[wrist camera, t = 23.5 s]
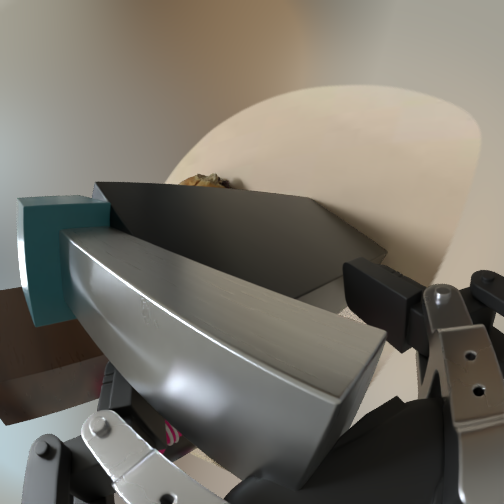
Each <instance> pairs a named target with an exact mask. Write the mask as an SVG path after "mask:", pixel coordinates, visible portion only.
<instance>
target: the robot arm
mask: <svg viewBox="0 0 504 504" xmlns="http://www.w3.org/2000/svg"><path fill="white" fill-rule="evenodd" d="M342 271H343V281H344V292H345V300H346V303H347V305H348V307H349V309H350V310H351V311H352V312H353V313H354V314H356V315H357V316H358V317H359V318H360V319H362V320H363V321H364V322H365V323H366V324H367V325H370V326H373V327H376V328H379V329H382V330H385V331H386V332H387V338H386V341H387V342H389V343H390V344H391V345H392V346H393V347H394V348H396V349H397V350H398V351H399V352H400V353H404V352H405V351H407V350H408V349H410V348H411V347H413V348H414V349H415V350H416V366H417V377H418V378H417V380H418V400H413V401H409V402H406V403H404V402H403V401H402V400H401V399H400V398H399V397H398V396H395V397H394V398H392V399H391V400H389V401H388V402H386V403H384V404H383V405H381V406H379V407H378V408H376V409H374V410H373V411H371V412H369V413H367V414H366V415H365V416H364V417H362V418H361V419H360V420H359V421H358V422H357V423H356V424H354V425H353V426H352V427H351V428H350V429H349V430H347V431H346V432H345V433H344V434H343V435H341V436H340V437H339V438H338V440H337V441H336V443H335V444H334V446H333V447H332V449H331V450H330V451H329V453H328V454H327V455H326V457H325V458H324V459H323V461H322V462H321V463H320V465H319V466H318V467H317V469H316V470H315V471H314V473H313V474H312V475H311V477H310V478H309V479H308V480H307V482H306V483H305V484H304V485H303V487H302V488H301V489H299V490H291V489H289V488H287V487H284V486H282V485H280V484H278V483H275V482H273V481H270V480H267V479H264V478H262V479H260V478H258V477H256V476H254V477H248V478H246V479H244V480H243V481H242V482H240V483H239V484H238V485H236V486H235V487H234V488H233V489H232V490H231V491H230V492H229V493H228V494H227V495H226V496H225V498H224V499H222V498H220V497H219V496H217V495H216V494H214V493H213V492H211V491H210V490H208V489H207V488H205V487H204V486H202V485H201V484H200V483H198V482H197V481H195V480H194V479H193V478H191V477H190V476H189V475H187V474H186V473H184V472H183V471H182V470H181V469H179V468H178V467H177V466H176V465H174V464H173V463H172V462H174V461H176V460H177V459H179V458H181V457H183V456H184V455H186V454H188V453H189V452H191V451H193V450H194V449H196V448H198V447H196V446H195V445H194V444H193V443H191V442H190V441H189V440H188V439H187V438H186V437H184V436H183V435H182V436H180V437H179V441H178V442H177V443H173V445H171V446H169V445H167V437H166V425H165V419H164V418H163V417H162V416H161V415H160V414H159V413H158V412H157V411H156V410H155V409H154V408H153V407H152V406H151V405H150V404H149V403H148V402H147V401H146V400H145V399H144V398H143V397H142V396H141V395H140V394H139V393H138V392H137V391H136V390H135V389H134V388H133V387H132V386H131V385H130V383H129V382H128V381H127V380H126V379H125V378H124V377H123V376H122V375H121V373H120V372H119V371H118V370H117V369H116V368H115V367H114V365H113V364H112V363H111V362H110V361H108V363H107V364H106V368H105V373H104V376H105V377H103V382H102V383H103V385H102V387H101V392H100V397H99V403H98V408H97V412H96V413H94V414H92V415H91V416H89V417H88V418H87V420H86V421H85V422H84V424H83V426H82V429H81V435H80V436H78V437H76V438H73V439H71V440H68V441H66V442H64V443H63V442H62V441H60V439H59V438H58V437H56V436H55V435H53V434H45V435H42V436H40V437H39V438H38V439H36V440H35V441H34V443H33V444H32V446H31V448H30V451H29V456H28V461H27V467H26V473H25V479H24V486H23V494H22V503H21V504H115V503H114V493H116V492H117V494H118V495H119V496H120V497H121V498H122V499H123V500H124V502H125V503H126V504H504V334H503V333H502V332H500V331H499V330H498V329H496V328H495V327H493V322H494V319H495V314H496V312H497V313H499V314H500V315H502V316H503V317H504V277H503V276H501V275H499V274H497V273H495V272H492V271H488V270H480V271H476V272H475V273H473V274H472V276H471V283H470V287H468V288H464V289H461V290H458V289H457V288H455V287H453V286H451V285H447V284H435V285H432V286H429V287H428V288H426V287H425V286H423V285H421V284H419V283H417V282H416V281H414V280H412V279H410V278H408V277H406V276H405V275H404V276H403V274H401V273H399V272H396V271H395V270H393V269H391V268H390V267H388V266H385V265H380V264H375V263H372V262H371V261H369V260H367V259H365V258H363V257H358V258H355V259H352V260H350V261H347V262H345V263H344V264H343V267H342ZM163 449H165V451H164V453H163V454H161V453H160V452H159V451H158V450H163Z"/></svg>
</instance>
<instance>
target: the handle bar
mask: <svg viewBox="0 0 504 504" xmlns="http://www.w3.org/2000/svg"><path fill="white" fill-rule="evenodd" d="M110 209H111V203H110V202H106V201H101V200H97V199H93V198H89V197H84V196H80V195H73V196H45V197H27V198H17V239H18V255H19V266H20V274H21V283H22V289H23V292H24V295H25V299H26V302H27V305H28V308H29V311H30V314H31V317H32V320H33V323H34V325H35V327H40V326H45V325H49V324H54V323H59V322H63V321H68V320H72V319H78V321H79V322H80V323H81V325H82V326H83V327H84V329H85V330H86V332H87V333H88V334H89V336H90V337H91V338H92V339H93V341H94V342H95V343H96V345H97V346H98V347H99V348H100V350H101V351H102V352H103V353H104V355H105V356H106V357H107V358H108V359H109V361H110V362H111V363H112V364H113V365H114V367H115V368H116V369H117V370H118V371H119V372H120V373H121V375H122V376H123V377H124V378H125V379H126V380H127V381H128V382H129V383H130V385H131V386H132V387H133V388H134V389H135V390H136V391H137V392H138V393H139V394H140V395H141V396H142V397H143V398H144V399H145V400H146V401H147V402H148V403H149V404H150V405H151V406H152V407H153V408H154V409H155V410H156V411H157V412H158V413H159V414H160V415H161V416H162V417H163V418H164V419H165V420H166V421H168V422H169V423H170V424H171V425H172V426H173V427H174V428H175V429H176V430H177V431H179V432H180V433H181V434H182V435H183V436H184V437H186V438H187V439H188V440H189V441H190V442H191V443H193V444H194V445H195V446H196V447H198V448H199V449H200V450H201V451H203V452H204V453H205V454H206V455H208V456H209V457H210V458H212V459H213V460H214V461H216V462H217V463H218V464H220V465H221V466H222V467H224V468H225V469H226V470H228V471H229V472H231V473H232V474H234V475H235V476H237V477H238V478H240V479H241V480H242V481H243V480H244V479H246V478H248V477H254V476H256V477H258V478H260V479H262V478H264V479H267V480H270V481H273V482H275V483H278V484H280V485H282V486H284V487H287V488H289V489H291V490H299V489H301V488H302V487H303V485H304V484H305V483H306V482H307V480H308V479H309V478H310V477H311V475H312V474H313V473H314V471H315V470H316V469H317V467H318V466H319V465H320V463H321V462H322V461H323V459H324V458H325V457H326V455H327V454H328V453H329V451H330V450H331V449H332V447H333V446H334V444H335V443H336V441H337V440H338V438H339V437H340V436H341V435H343V434H344V433H345V432H346V431H347V430H349V428H350V426H351V424H352V421H353V419H354V417H355V415H356V413H357V411H358V409H359V407H360V404H361V402H362V400H363V398H364V395H365V393H366V391H367V388H368V386H369V384H370V381H371V379H372V376H373V374H374V371H375V369H376V366H377V363H378V361H379V358H380V355H381V353H382V350H383V347H384V344H385V341H386V338H387V332H386V331H385V330H382V329H379V328H376V327H373V326H370V325H367V324H364V323H361V322H358V321H355V320H352V319H349V318H346V317H343V316H340V315H338V314H335V313H332V312H329V311H326V310H323V309H321V308H318V307H315V306H312V305H309V304H306V303H304V302H301V301H298V300H295V299H293V298H290V297H287V296H284V295H282V294H279V293H276V292H274V291H271V290H268V289H265V288H263V287H260V286H257V285H255V284H252V283H250V282H247V281H244V280H242V279H239V278H236V277H234V276H231V275H229V274H226V273H223V272H221V271H218V270H216V269H213V268H210V267H208V266H205V265H203V264H200V263H198V262H195V261H193V260H190V259H188V258H185V257H183V256H180V255H178V254H175V253H173V252H170V251H168V250H165V249H163V248H160V247H158V246H155V245H153V244H151V243H148V242H146V241H143V240H141V239H139V238H136V237H134V236H131V235H129V234H127V233H124V232H122V231H119V230H117V229H115V228H112V227H110Z"/></svg>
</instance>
